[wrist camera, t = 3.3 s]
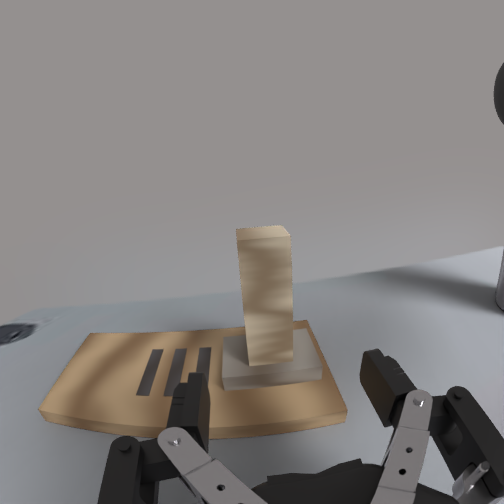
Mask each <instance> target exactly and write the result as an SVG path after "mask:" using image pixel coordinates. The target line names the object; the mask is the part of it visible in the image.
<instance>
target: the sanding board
mask: <svg viewBox="0 0 504 504" xmlns="http://www.w3.org/2000/svg"><path fill="white" fill-rule="evenodd" d="M304 328H306V329H307V331H308V333H309V336H310V338H311V340H312V342H313V345H314V347H315V349H316V352H317V354H318V356H319V359H320V361H321V363H322V366H323V368H322V379H320V380H315V381H309V382H302V383H295V384H288V385H281V386H272V387H263V388H254V389H242V390H229V391H225V390H224V385H223V380H222V365H223V337H230V336H241V335H246V330H245V327H238V328H226V329H212V330H197V331H178V332H152V333H90V334H89V335H88V337H87V338H86V339H85V341H84V342H83V344H82V345H81V346H80V348H79V349H78V351H77V352H76V353H75V355H74V356H73V358H72V359H71V360H70V362H69V363H68V365H67V366H66V368H65V369H64V371H63V372H62V374H61V375H60V376H59V378H58V379H57V381H56V382H55V384H54V385H53V387H52V389H51V390H50V392H49V393H48V395H47V396H46V398H45V399H44V401H43V403H42V404H41V406H40V407H39V409H38V410H39V412H40V413H41V415H42V416H43V418H44V419H45V421H49V422H53V423H57V424H61V425H66V426H70V427H75V428H80V429H86V430H91V431H97V432H104V433H111V434H119V435H127V436H137V437H149V438H157V437H158V436H159V434H160V433H161V432H162V431H163V430H165V429H166V426H167V421H168V416H169V411H170V406H171V401H172V397H173V392H174V389H175V388H176V386H177V385H178V384H179V383H184V382H187V380H188V375H189V372H204V373H205V376H206V380H207V385H208V389H209V393H210V402H211V405H210V422H209V439H224V438H241V437H254V436H264V435H273V434H281V433H288V432H295V431H301V430H307V429H313V428H318V427H324V426H328V425H333V424H338V423H342V422H345V419H346V415H347V408H346V405H345V403H344V401H343V399H342V396H341V394H340V392H339V390H338V387H337V385H336V383H335V381H334V378H333V376H332V374H331V372H330V370H329V367H328V365H327V363H326V361H325V359H324V356H323V354H322V352H321V350H320V348H319V345H318V343H317V341H316V339H315V337H314V334H313V332H312V330H311V328H310V326H309V324H308V322H307V320H303V321H295V322H293V330H297V329H304Z"/></svg>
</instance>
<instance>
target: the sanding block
mask: <svg viewBox="0 0 504 504" xmlns="http://www.w3.org/2000/svg"><path fill="white" fill-rule="evenodd" d="M236 234H237V248H238V258H239V268H240V279H241V290H242V300H243V310H244V320H245V330H246V335H241V336H230V337H223V365H222V380H223V385H224V390H225V391H229V390H242V389H254V388H263V387H272V386H281V385H288V384H295V383H302V382H309V381H315V380H320V379H322V368H323V366H322V363H321V361H320V359H319V356H318V354H317V352H316V349H315V347H314V345H313V342H312V340H311V338H310V336H309V333H308V331H307V329H306V328H304V329H297V330H293V298H292V261H291V236H290V235H289V233H288V232H287V231H286V230H285V228H284V227H283V226H282V225H278V226H266V227H254V228H243V229H236Z"/></svg>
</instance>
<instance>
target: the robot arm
mask: <svg viewBox="0 0 504 504" xmlns="http://www.w3.org/2000/svg"><path fill="white" fill-rule="evenodd" d="M494 104H495V108H496V112H497V114H498V117H499V119H500V120H501V122H502V123H503V124H504V63H503V64H502V66H501V68H500V70H499V72H498V74H497V77H496V81H495V86H494ZM496 293H497V295H496V302H497V304H498V306H499V307H500V308H501V309H503V310H504V251H503V257H502V263H501V268H500V274H499V279H498V283H497V288H496ZM360 382H361V385H362V386H363V388H364V390H365V392H366V394H367V396H368V398H369V399H370V401H371V403H372V405H373V407H374V409H375V411H376V412H377V414H378V416H379V418H380V420H381V422H382V424H383V426H384V427H388V426H391V425H392V426H393V428H394V430H393V432H392V435H391V438H390V441H389V444H388V447H387V450H386V452H385V455H384V458H383V460H382V463H381V465H376V464H362V461H361V459H360V458H359V459H356V460H352V461H348V462H344V463H340V464H337V465H335V466H333V467H331V468H329V469H327V470H324V471H322V472H320V473H317V474H299V473H289V474H281V475H273V476H267V480H268V482H265V483H262V484H260V485H258V486H256V487H254V488H252V489H249V488H248V487H247V486H246V485H245V484H244V483H243V482H241V481H240V480H239V479H238V478H237V477H236V476H235V475H234V474H233V473H231V472H230V471H229V470H228V469H227V468H226V467H225V466H224V465H223V464H222V463H221V462H220V461H219V460H217V459H212V458H211V457H210V456H209V455H208V441H209V422H210V405H211V402H210V393H209V389H208V385H207V380H206V376H205V373H204V372H189V375H188V380H187V382H184V383H179V384H178V385H177V386H176V388H175V389H174V392H173V397H172V401H171V406H170V411H169V416H168V421H167V426H166V429H165V430H163V431H162V432H161V433H160V434H159V436H158V437H157V438H155V439H152V440H147V441H141V442H138V440H137V439H135V438H133V437H131V436H122V437H119V438H117V439H116V440H114V441H113V442H112V444H111V447H110V451H109V455H108V459H107V463H106V467H105V471H104V475H103V480H102V484H101V489H100V494H99V499H98V504H157V503H158V489H159V481H161V480H166V479H171V478H176V477H178V478H179V479H180V481H181V482H182V483H183V484H184V485H185V487H186V488H187V489H188V490H189V491H190V492H191V494H192V495H193V496H194V497H195V498H196V499H197V500H198V501H199V503H200V504H496V503H498V502H499V501H500V500H501V499H502V498H503V497H504V439H503V437H502V436H501V434H500V433H499V431H498V430H497V429H496V427H495V426H494V424H493V423H492V422H491V420H490V419H489V417H488V416H487V415H486V413H485V412H484V411H483V409H482V408H481V407H480V405H479V404H478V403H477V401H476V400H475V399H474V397H473V396H472V395H471V393H470V392H469V391H468V390H467V389H465V388H464V387H460V386H455V387H452V388H450V389H449V390H448V392H447V394H446V395H443V396H431V395H430V394H429V393H428V392H426V391H424V390H417V388H416V387H415V386H414V384H413V383H412V382H411V380H410V379H409V377H408V376H407V375H406V373H404V371H403V369H402V368H400V365H399V364H398V363H397V361H396V360H394V359H393V358H391V357H389V356H385V357H384V355H383V354H382V352H381V351H380V350H379V349H374V350H369V351H365V352H364V353H363V358H362V364H361V370H360ZM429 436H432V438H433V440H434V441H435V443H436V445H437V447H438V449H439V451H440V453H441V455H442V457H443V458H444V460H445V462H446V464H447V466H448V468H449V470H450V472H451V474H452V476H453V478H454V480H455V482H454V484H453V487H452V492H453V495H452V496H450V495H447V494H444V493H442V492H439V491H437V490H434V489H432V488H429V487H427V486H425V485H422V484H420V483H418V480H419V476H420V473H421V469H422V465H423V461H424V457H425V453H426V449H427V444H428V440H429Z"/></svg>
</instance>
